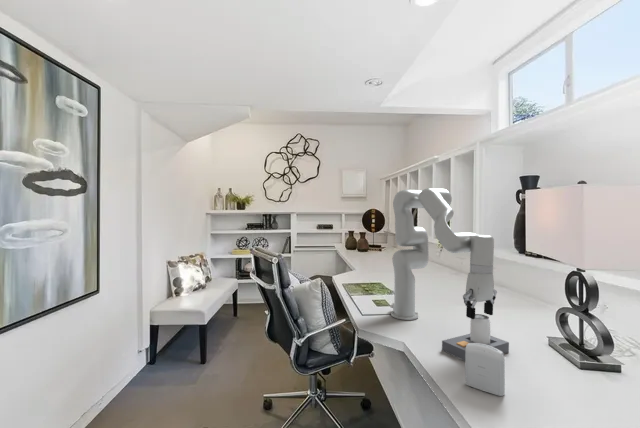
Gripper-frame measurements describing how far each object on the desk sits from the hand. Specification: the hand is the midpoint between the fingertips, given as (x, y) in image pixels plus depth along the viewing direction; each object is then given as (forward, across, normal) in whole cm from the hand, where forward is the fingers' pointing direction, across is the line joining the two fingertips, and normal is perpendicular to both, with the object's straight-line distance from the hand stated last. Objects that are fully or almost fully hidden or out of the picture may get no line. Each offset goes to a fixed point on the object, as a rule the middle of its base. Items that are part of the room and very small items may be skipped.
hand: (479, 316), depth 122 cm
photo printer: (+12, +23, +19) cm, 32 cm away
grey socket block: (+12, +3, +1) cm, 12 cm away
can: (+12, 0, +1) cm, 12 cm away
